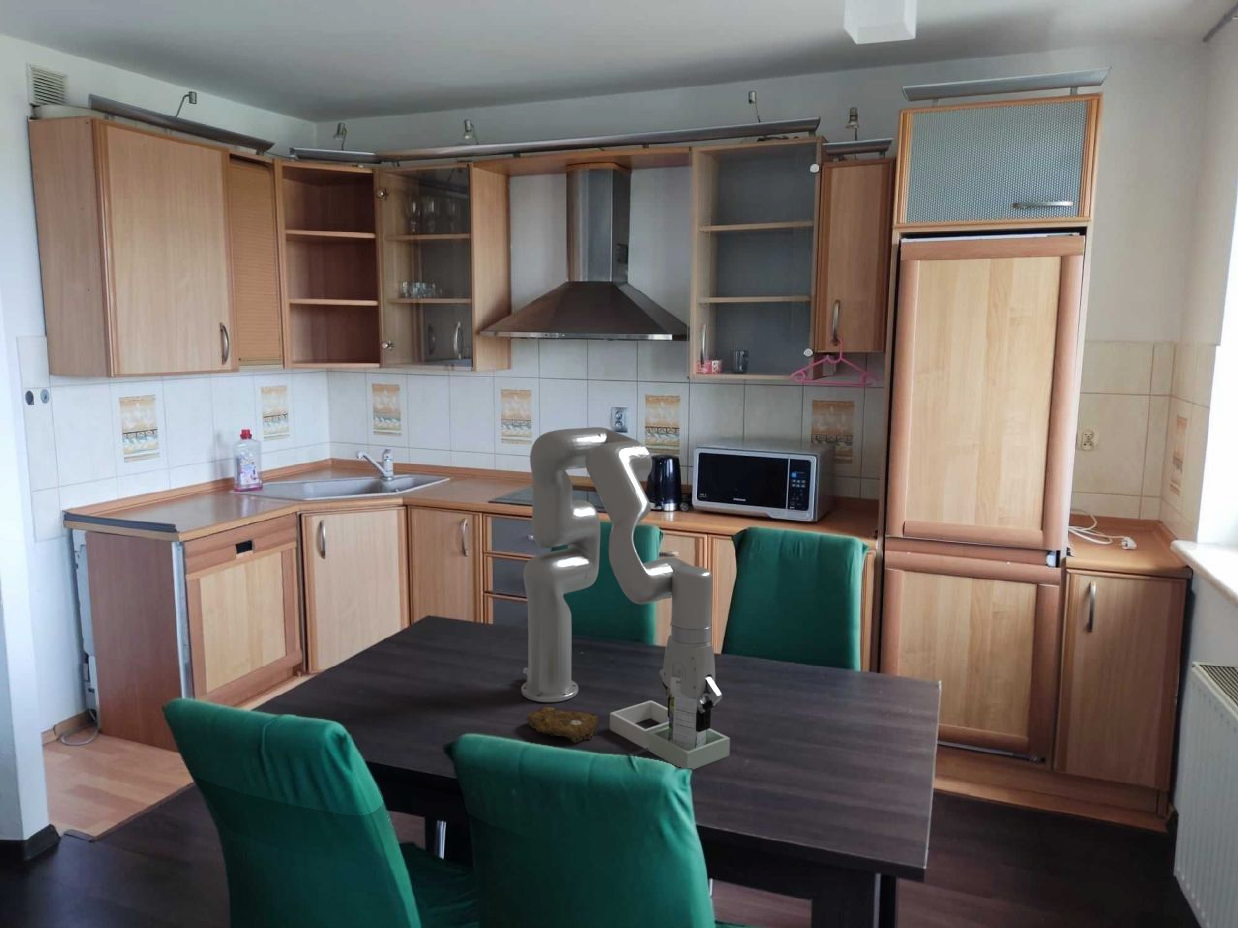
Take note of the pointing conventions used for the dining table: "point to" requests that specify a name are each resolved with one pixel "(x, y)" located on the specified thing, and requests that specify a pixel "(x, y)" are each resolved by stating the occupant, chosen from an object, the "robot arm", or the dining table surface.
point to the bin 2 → (694, 758)
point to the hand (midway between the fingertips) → (688, 722)
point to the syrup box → (684, 719)
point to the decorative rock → (564, 723)
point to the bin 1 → (627, 718)
